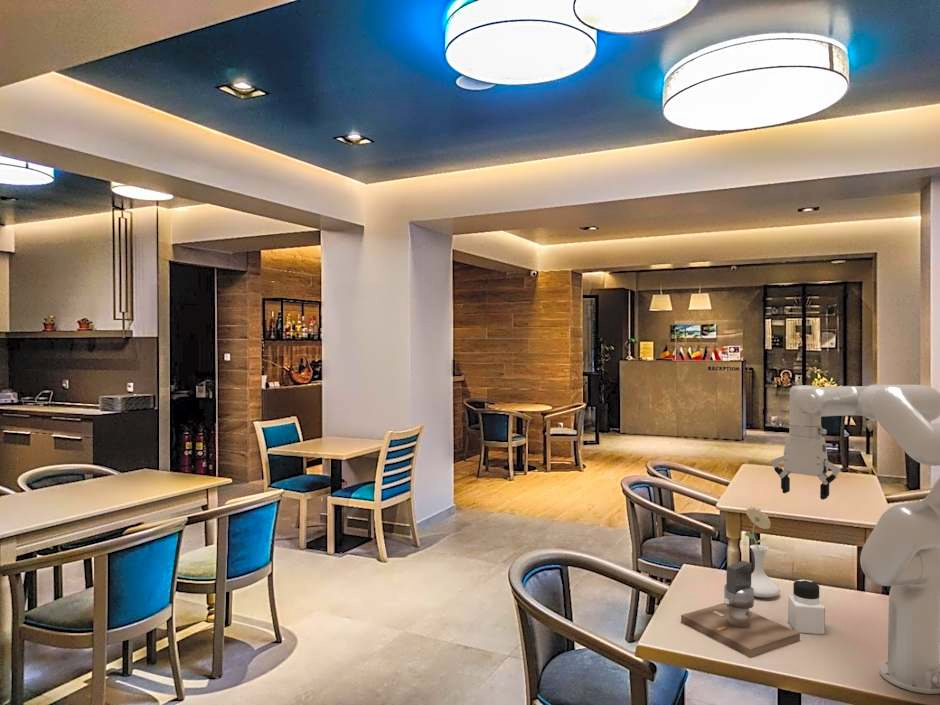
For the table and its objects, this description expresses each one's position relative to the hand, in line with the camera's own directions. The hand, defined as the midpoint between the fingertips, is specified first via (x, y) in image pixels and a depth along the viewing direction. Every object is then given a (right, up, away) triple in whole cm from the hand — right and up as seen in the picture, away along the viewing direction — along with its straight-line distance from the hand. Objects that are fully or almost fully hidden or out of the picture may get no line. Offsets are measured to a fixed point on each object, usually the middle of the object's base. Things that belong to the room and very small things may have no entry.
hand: (804, 495), depth 178 cm
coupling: (-21, -26, -7) cm, 34 cm away
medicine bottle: (-2, -34, -4) cm, 34 cm away
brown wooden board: (-20, -34, -6) cm, 40 cm away
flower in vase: (-4, -33, +19) cm, 39 cm away
